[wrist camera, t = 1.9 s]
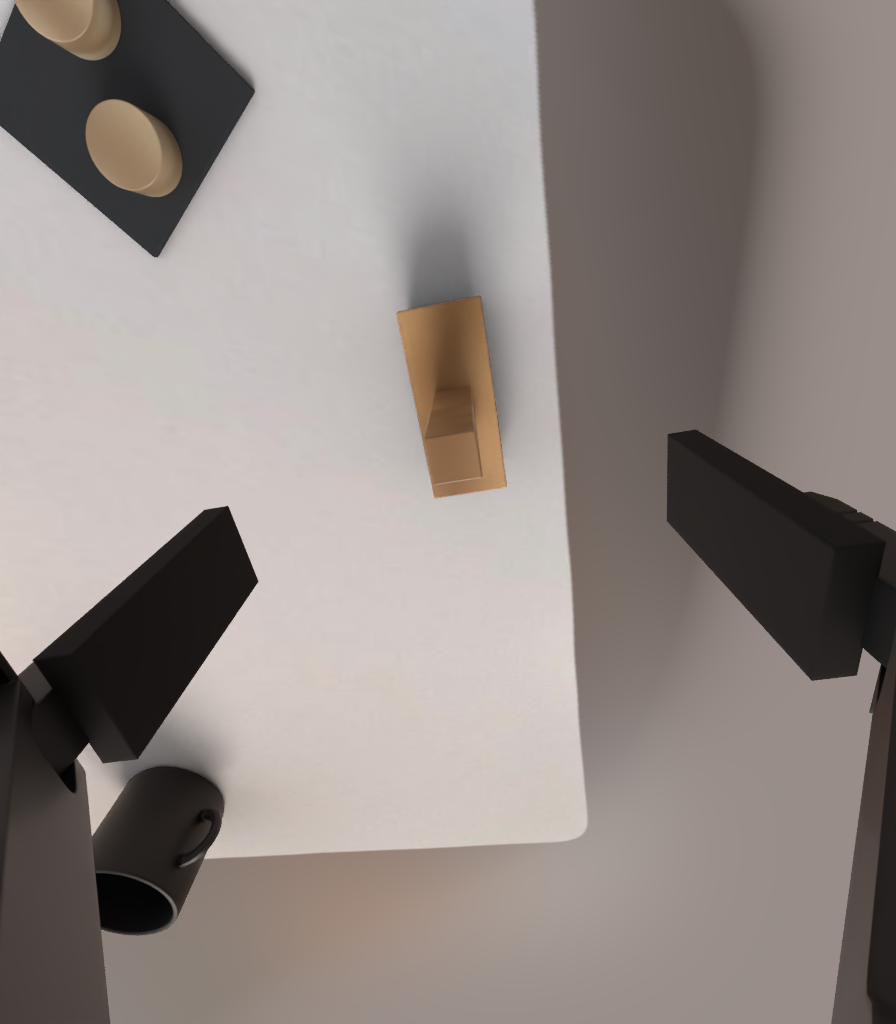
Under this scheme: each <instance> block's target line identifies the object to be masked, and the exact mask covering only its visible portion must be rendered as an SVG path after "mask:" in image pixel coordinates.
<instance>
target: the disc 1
mask: <svg viewBox="0 0 896 1024" xmlns="http://www.w3.org/2000/svg"><path fill="white" fill-rule="evenodd" d="M14 1H15V3H16V5H17V7H18V9H19V11H20V12H21V14H22V15H23V17H24V18H25V19H26V21H27V22H28V23H29V24H30V25H31V26H32V27H33V28H34V29H35V30H36V31H37V32H38V33H40V34H41V35H43V36H44V37H46V38H47V39H49V40H51V41H52V42H54V43H56V44H57V45H59V46H61V47H62V48H64V49H66V50H67V51H69V52H71V53H72V54H74V55H76V56H78V57H80V58H83V59H86V60H100V59H103V58H105V57H107V56H108V55H110V54H111V53H112V52H113V50H114V49H115V47H116V46H117V44H118V41H119V38H120V33H121V15H120V10H119V6H118V3H117V0H14Z"/></svg>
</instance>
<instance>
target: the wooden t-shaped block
mask: <svg viewBox="0 0 896 1024" xmlns="http://www.w3.org/2000/svg"><path fill="white" fill-rule="evenodd" d="M396 314H397V319H398V324H399V329H400V333H401V338H402V343H403V348H404V353H405V358H406V362H407V367H408V372H409V377H410V382H411V387H412V391H413V396H414V401H415V406H416V411H417V416H418V420H419V425H420V430H421V435H422V440H423V445H424V449H425V454H426V459H427V464H428V469H429V474H430V478H431V483H432V488H433V493H434V497H435V498H441V497H447V496H454V495H460V494H467V493H473V492H480V491H486V490H492V489H499V488H505V487H507V483H506V476H505V469H504V462H503V454H502V447H501V440H500V432H499V425H498V418H497V411H496V403H495V396H494V389H493V382H492V374H491V367H490V360H489V353H488V345H487V338H486V331H485V323H484V316H483V309H482V302H481V297H480V296H474V297H469V298H464V299H459V300H454V301H448V302H443V303H438V304H433V305H428V306H423V307H418V308H412V309H407V310H402V311H399V312H397V313H396Z"/></svg>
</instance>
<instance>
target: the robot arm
mask: <svg viewBox="0 0 896 1024" xmlns="http://www.w3.org/2000/svg"><path fill="white" fill-rule="evenodd" d="M667 464H668V465H667V466H668V467H667V522H668V523H669V524H670V525H671V526H672V527H673V528H674V529H675V530H676V532H677V533H679V535H680V536H681V537H682V538H683V539H684V540H685V541H686V543H687V544H688V545H689V546H690V547H691V548H692V549H693V550H694V551H695V552H696V554H697V555H698V556H699V557H700V558H701V559H702V560H703V561H704V562H705V564H707V566H708V567H709V568H710V569H711V570H712V571H713V572H714V573H715V575H716V576H717V577H718V578H719V579H720V580H721V581H722V582H723V583H724V584H725V586H726V587H727V588H728V589H729V590H730V591H731V592H732V593H733V594H734V595H735V597H736V598H737V599H738V600H739V601H740V602H741V603H742V604H743V605H744V606H745V608H746V609H747V610H748V611H749V612H750V613H751V614H752V615H753V616H754V617H755V619H756V620H757V621H758V622H759V623H760V624H761V625H762V626H763V627H764V629H765V630H766V631H767V632H768V633H769V634H770V635H771V636H772V637H773V638H774V639H775V641H776V642H777V643H778V644H779V645H780V646H781V647H782V648H783V649H784V650H785V652H786V653H787V654H788V655H789V656H790V657H791V658H792V659H793V660H794V662H795V663H796V664H797V665H798V666H799V667H800V668H801V669H802V670H803V671H804V672H805V674H806V675H807V676H808V677H809V678H810V679H811V680H812V681H813V680H822V679H830V678H839V677H847V676H855V675H857V672H858V667H859V663H860V658H861V654H862V649H863V648H864V649H865V650H866V651H867V652H868V653H869V654H871V655H872V656H873V657H874V658H875V659H876V660H877V661H878V662H880V663H881V667H880V671H879V675H878V679H877V683H876V687H875V691H874V695H873V699H872V703H871V708H870V713H873V716H872V723H871V730H870V738H869V746H868V753H867V760H866V768H865V776H864V783H863V791H862V798H861V806H860V813H859V820H858V828H857V836H856V843H855V851H854V858H853V865H852V873H851V880H850V888H849V895H848V903H847V910H846V918H845V925H844V933H843V940H842V948H841V955H840V963H839V970H838V978H837V985H836V993H835V1001H834V1008H833V1016H832V1024H896V531H894V530H892V529H890V528H889V527H887V526H885V525H883V524H881V523H879V522H878V521H876V522H874V521H873V519H872V518H870V517H869V516H867V515H865V514H863V513H861V512H859V513H857V510H856V509H854V508H852V507H850V506H849V505H847V504H845V503H843V502H841V501H839V500H838V499H834V498H831V497H828V496H824V495H821V494H817V493H814V492H805V493H803V492H801V491H800V490H798V489H796V488H795V487H793V486H791V485H789V484H788V483H786V482H784V481H782V480H781V479H779V478H777V477H776V476H774V475H772V474H771V473H769V472H767V471H766V470H764V469H762V468H760V467H759V466H757V465H755V464H754V463H752V462H750V461H748V460H747V459H745V458H743V457H741V456H740V455H738V454H737V453H734V452H733V451H731V450H730V449H728V448H726V447H725V446H723V445H721V444H719V443H718V442H716V441H714V440H713V439H711V438H709V437H707V436H706V435H704V434H702V433H700V432H699V431H697V430H691V431H684V432H678V433H672V434H668V463H667ZM257 583H258V579H257V577H256V574H255V572H254V569H253V567H252V564H251V562H250V559H249V557H248V554H247V552H246V549H245V547H244V544H243V542H242V539H241V537H240V534H239V532H238V529H237V527H236V524H235V522H234V519H233V517H232V514H231V512H230V509H229V507H228V506H226V507H219V508H213V509H207V510H204V511H203V512H202V513H201V514H199V515H198V516H197V517H196V518H195V519H194V520H192V521H191V522H190V523H189V524H188V525H187V526H186V527H184V528H183V529H182V530H181V531H180V532H179V533H178V534H176V535H175V536H174V537H173V538H172V539H171V540H170V541H168V542H167V543H166V544H165V545H164V546H163V547H162V548H160V549H159V550H158V551H157V552H156V553H155V554H154V555H152V556H151V557H150V558H149V559H148V560H147V561H146V562H144V563H143V564H142V565H141V566H140V567H139V568H138V569H136V570H135V571H134V572H133V573H132V574H131V575H130V576H128V577H127V578H126V579H125V580H124V581H123V582H121V583H120V584H119V585H118V586H117V587H116V588H115V589H113V590H112V591H111V592H110V593H109V594H108V595H107V596H105V597H104V598H103V599H102V600H101V601H100V602H99V603H97V604H96V605H95V606H94V607H93V608H92V609H91V610H89V611H88V612H87V613H86V614H85V615H84V616H83V617H81V618H80V619H79V620H78V621H77V622H76V623H75V624H73V625H72V626H71V627H70V628H69V629H68V630H67V631H65V632H64V633H63V634H62V635H61V636H60V637H59V638H57V639H56V640H55V641H54V642H53V643H52V644H51V645H49V646H48V647H47V648H46V649H45V650H44V651H42V652H41V653H40V654H39V655H38V656H37V657H36V658H34V659H33V661H34V662H33V663H32V664H31V665H29V666H28V667H27V668H26V669H25V670H24V671H23V672H21V673H20V674H19V675H18V676H17V674H16V673H15V671H14V670H13V669H12V667H11V666H10V664H9V663H8V661H7V660H6V659H5V657H4V656H3V654H2V653H1V652H0V1024H110V1018H109V1007H108V997H107V988H106V978H105V967H104V957H103V947H102V937H101V926H100V916H99V906H98V896H97V886H96V876H95V865H94V855H93V845H92V835H91V825H90V815H89V805H88V795H87V784H86V774H85V771H84V769H83V767H82V766H81V764H80V763H79V761H78V760H77V759H76V758H77V757H78V755H79V754H80V753H81V752H82V751H83V749H84V748H85V747H86V746H87V744H88V743H90V745H91V746H92V748H93V749H94V751H95V752H96V754H97V755H98V757H99V758H100V759H101V761H102V762H103V763H110V762H118V761H127V760H136V759H138V758H139V756H140V755H141V754H142V752H143V751H144V749H145V748H146V746H147V745H148V743H149V742H150V740H151V739H152V737H153V736H154V734H155V733H156V731H157V730H158V729H159V727H160V726H161V724H162V723H163V721H164V720H165V718H166V717H167V715H168V714H169V712H170V711H171V709H172V708H173V706H174V705H175V704H176V702H177V701H178V699H179V698H180V696H181V695H182V693H183V692H184V690H185V689H186V687H187V686H188V684H189V683H190V681H191V680H192V679H193V677H194V676H195V674H196V673H197V671H198V670H199V668H200V667H201V665H202V664H203V662H204V661H205V659H206V658H207V656H208V655H209V654H210V652H211V651H212V649H213V648H214V646H215V645H216V643H217V642H218V640H219V639H220V637H221V636H222V634H223V633H224V631H225V630H226V629H227V627H228V626H229V624H230V623H231V621H232V620H233V618H234V617H235V615H236V614H237V612H238V611H239V609H240V608H241V606H242V605H243V604H244V602H245V601H246V599H247V598H248V596H249V595H250V593H251V592H252V590H253V589H254V587H255V586H256V584H257Z"/></svg>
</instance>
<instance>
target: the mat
mask: <svg viewBox="0 0 896 1024" xmlns="http://www.w3.org/2000/svg"><path fill="white" fill-rule="evenodd" d="M117 3H118V6H119V10H120V15H121V33H120V38H119V41H118V44H117V46H116V47H115V49H114V50H113V52H112V53H111V54H110V55H108V56H107V57H105V58H103V59H100V60H86V59H83V58H80V57H78V56H76V55H74V54H72V53H71V52H69V51H67V50H66V49H64V48H62V47H61V46H59V45H57V44H56V43H54V42H52V41H51V40H49V39H47V38H46V37H44V36H43V35H41V34H40V33H38V32H37V31H36V30H35V29H34V28H33V27H32V26H31V25H30V24H29V23H28V22H27V21H26V19H25V18H24V17H23V15H22V14H21V12H20V11H19V9H18V7H17V5H16V3H15V5H14V8H13V11H12V13H11V16H10V18H9V21H8V23H7V26H6V28H5V31H4V34H3V36H2V39H1V41H0V126H1V127H2V128H4V129H5V130H6V131H7V132H8V133H9V134H11V135H12V136H13V137H14V138H15V139H16V140H18V141H19V142H20V143H21V144H22V145H23V146H25V147H26V148H27V149H28V150H29V151H30V152H32V153H33V154H34V155H35V156H36V157H37V158H39V159H40V160H41V161H42V162H43V163H45V164H46V165H47V166H48V167H49V168H50V169H52V170H53V171H54V172H55V173H56V174H57V175H59V176H60V177H61V178H62V179H63V180H64V181H66V182H67V183H68V184H69V185H70V186H71V187H73V188H74V189H75V190H76V191H77V192H78V193H80V194H81V195H82V196H83V197H84V198H86V199H87V200H88V201H89V202H90V203H91V204H93V205H94V206H95V207H96V208H97V209H98V210H100V211H101V212H102V213H103V214H104V215H105V216H107V217H108V218H109V219H110V220H111V221H112V222H114V223H115V224H116V225H117V226H118V227H119V228H121V229H122V230H123V231H124V232H125V233H126V234H128V235H129V236H130V237H131V238H132V239H134V240H135V241H136V242H137V243H138V244H139V245H141V246H142V247H143V248H144V249H145V250H146V251H148V252H149V253H150V254H151V255H152V256H153V257H158V256H159V254H160V253H161V251H162V249H163V247H164V246H165V244H166V242H167V241H168V239H169V237H170V236H171V234H172V232H173V230H174V229H175V227H176V225H177V224H178V222H179V220H180V219H181V217H182V215H183V213H184V212H185V210H186V208H187V207H188V205H189V203H190V201H191V200H192V198H193V196H194V195H195V193H196V191H197V190H198V188H199V186H200V184H201V183H202V181H203V179H204V178H205V176H206V174H207V172H208V171H209V169H210V167H211V166H212V164H213V162H214V161H215V159H216V157H217V155H218V154H219V152H220V150H221V149H222V147H223V145H224V144H225V142H226V140H227V138H228V137H229V135H230V133H231V132H232V130H233V128H234V126H235V125H236V123H237V121H238V120H239V118H240V116H241V115H242V113H243V111H244V109H245V108H246V106H247V104H248V103H249V101H250V99H251V98H252V96H253V94H254V92H255V91H254V90H253V89H252V88H251V87H250V86H249V85H248V84H247V83H246V81H245V80H244V79H243V78H242V77H241V76H240V75H239V74H238V73H237V72H236V71H235V70H234V69H233V68H232V67H231V66H230V65H229V64H228V63H227V62H226V61H225V60H224V59H223V58H222V57H221V56H220V55H219V54H218V53H217V52H216V51H215V50H214V49H213V48H212V47H211V46H210V45H209V44H208V43H207V42H206V41H205V40H204V39H203V38H202V37H201V35H200V34H199V33H198V32H197V31H196V30H195V29H194V28H193V27H192V26H191V25H190V24H189V23H188V22H187V21H186V20H185V19H184V18H183V17H182V16H181V15H180V14H179V13H178V12H177V11H176V10H175V9H174V8H173V7H172V6H171V5H170V4H169V3H168V2H167V1H166V0H117ZM110 99H118V100H123V101H126V102H128V103H130V104H132V105H134V106H136V107H138V108H140V109H141V110H143V111H145V112H147V113H149V114H150V115H152V116H154V117H156V118H157V119H159V120H160V121H161V122H163V123H164V124H165V125H166V126H167V127H168V128H169V130H170V131H171V132H172V134H173V135H174V137H175V139H176V141H177V143H178V145H179V148H180V151H181V155H182V164H183V167H182V175H181V178H180V181H179V183H178V185H177V186H176V188H175V189H174V190H173V191H172V192H170V193H169V194H167V195H165V196H161V197H150V196H146V195H143V194H139V193H136V192H132V191H129V190H126V189H123V188H120V187H118V186H116V185H115V184H113V183H112V182H110V181H109V180H108V179H107V178H106V177H105V176H104V175H103V174H102V173H101V172H100V171H99V169H98V168H97V167H96V165H95V163H94V162H93V160H92V158H91V155H90V153H89V150H88V146H87V142H86V124H87V119H88V117H89V114H90V113H91V111H92V110H93V108H94V107H95V106H96V105H98V104H99V103H101V102H103V101H106V100H110Z"/></svg>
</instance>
